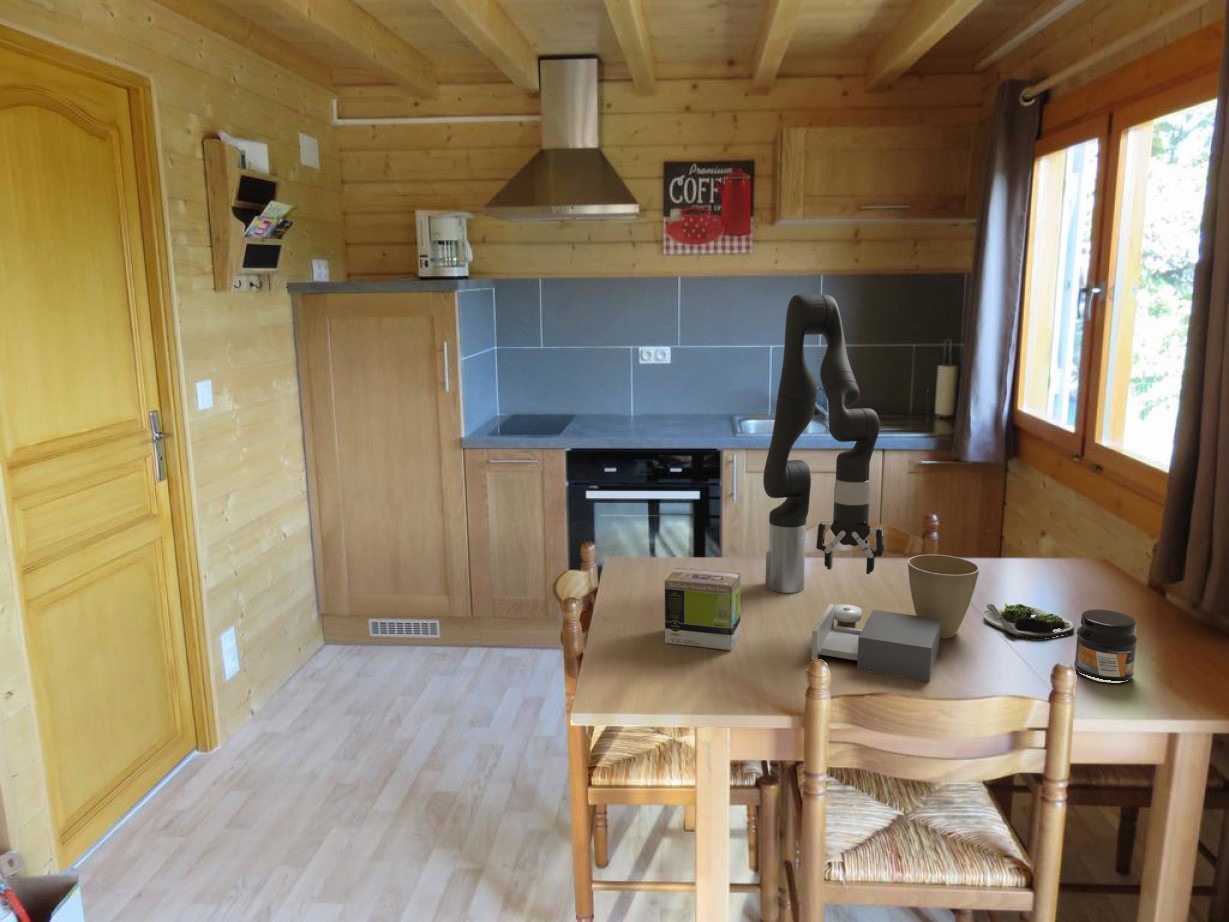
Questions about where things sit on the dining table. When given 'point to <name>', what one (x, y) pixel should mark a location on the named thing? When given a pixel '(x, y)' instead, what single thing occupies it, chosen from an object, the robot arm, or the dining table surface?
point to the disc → (847, 613)
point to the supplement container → (1106, 645)
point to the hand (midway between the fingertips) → (849, 570)
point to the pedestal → (846, 624)
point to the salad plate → (1027, 621)
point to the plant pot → (942, 589)
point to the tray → (834, 638)
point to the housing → (899, 645)
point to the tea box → (702, 608)
